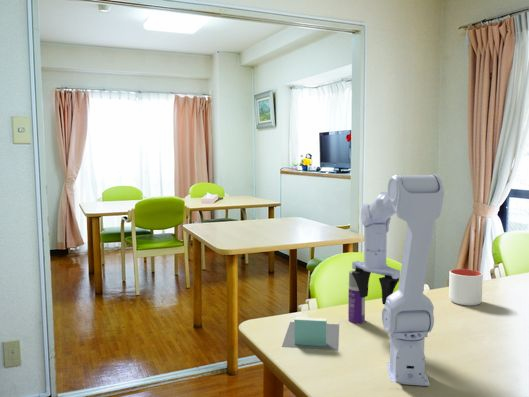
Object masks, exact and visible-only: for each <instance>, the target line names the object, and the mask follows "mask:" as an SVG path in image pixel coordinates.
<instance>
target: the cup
mask: <svg viewBox="0 0 529 397" xmlns="http://www.w3.org/2000/svg"><path fill="white" fill-rule="evenodd" d="M448 273H449V275H448V276H449V278H448V280H449V281H448V299H449V300H450V301H451V302H452V303H454V304H456V305H461V306H470V307H471V306H473V307H474V306H478V305H480V304H481V303H482V301H483V273H482V272H481V271H477V270H473V269H467V268H466V269H465V268H456V269H455V268H453V269H451V270H449V272H448Z"/></svg>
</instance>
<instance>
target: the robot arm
mask: <svg viewBox="0 0 529 397" xmlns="http://www.w3.org/2000/svg"><path fill="white" fill-rule="evenodd" d="M444 197H445V189H444V185H443V182H442V179H441V178H440V177H439V176H438V175H437V174H436V173H433V174H409V175H407V174H405V175H403V174H402V175H398V174H393V175H391V177H390V178H389V180H388V184H387V192H386V191H384V192H383V191H382V192H380V193H379V195H378V196H377V197H376V198H375V199H374V200H373V201H372V202H371V203H370V204H368V203H363V204H362V206H361V210H360V219H361V223H362V226H363V228H364V229H363V230H364V231H363V238H364V239H363V243H364V244H363V261H360V260H356V261H352V263H351V267H352V268H351V269H353V270H355V271H353V272H352V275H353V277H354V278H355V280H356V283H357V286H358V289H359V293H360V297H361V298H363V297H365V298H367V297H368V295H369V282H370V277H371V274H376V275H380V276H383V277H379V278H378V280H379V284H380V289H381V302H382V305H384V306H383V308H382V311H381V321H382V323H381V324H382V326H383V329H384V330H385V332H386V333H387V334H389V361H387V362H386V368H387V372H388V376H389V381H390V382H392V383H400V385H411V386H424V387H429V386H430V384H431V383H430V381H429V378H428V375H427V373H426V355H425V338H428V337H429V336H428V333H431V332H432V330H433V329H434V325H435V317H434V304H433V302H432V301H431V299H430V298H429V297H428V296H427V295H426V294H425V293H424V290H425V283H426V278H427V277H426V276H427V270H428V265H429V257H430V252H431V245H432V240H433V234H434V227H435V221H436V220H437V219H438V218H440V217H441V211H442V208H443V203H444ZM395 214H396V216H397V218H398V219H401V220H402V221H404V222H406V233H405V240H404V246H403V253H402V259H401V260H402V261H401V269H396V268H393V267H391V266H388V264H387V234H388V232H389V229H390V228H389V227H390V223H391V220H392V219H391V217H392V216H394V215H395ZM397 284H398V289H396V286H397ZM395 289H396V291H394V290H395Z"/></svg>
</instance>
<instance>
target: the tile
mask: <svg viewBox="0 0 529 397" xmlns="http://www.w3.org/2000/svg"><path fill="white" fill-rule="evenodd" d="M293 322H294V326H295V344H298V345H315V346H326V344H327V324H328V323H327V318H321V317H320V318H319V317H303V316H302V317H300V316H295V318H294V321H293Z"/></svg>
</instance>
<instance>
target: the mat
mask: <svg viewBox="0 0 529 397" xmlns="http://www.w3.org/2000/svg"><path fill="white" fill-rule="evenodd" d="M339 337H340V324H339V323H338V324H337V323H327V344H326V346H315V345H298V344H295V326H294V321H289V324H288V327H287V330H286V334H285V336H284V338H283V342H282V345H281V347H282V348H293V349H294V348H295V349H296V348H297V349H307V350H308V349H311V350H324V351H325V350H326V351H327V350H328V351H339V340H340V339H339Z"/></svg>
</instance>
